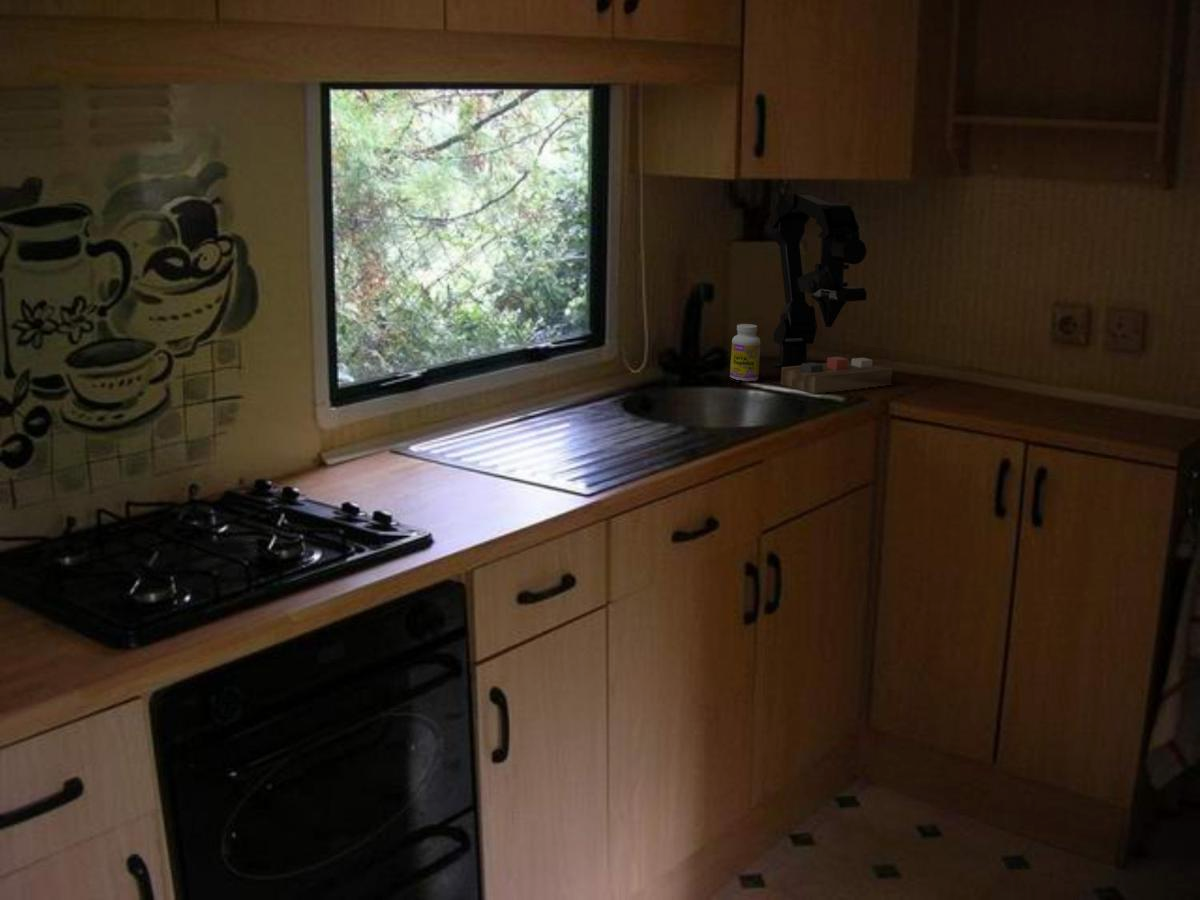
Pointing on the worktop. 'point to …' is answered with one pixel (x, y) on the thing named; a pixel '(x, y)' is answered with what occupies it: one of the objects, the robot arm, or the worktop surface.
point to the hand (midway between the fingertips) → (828, 326)
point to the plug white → (861, 362)
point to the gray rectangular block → (812, 367)
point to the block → (836, 378)
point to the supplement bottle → (745, 353)
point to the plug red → (837, 363)
